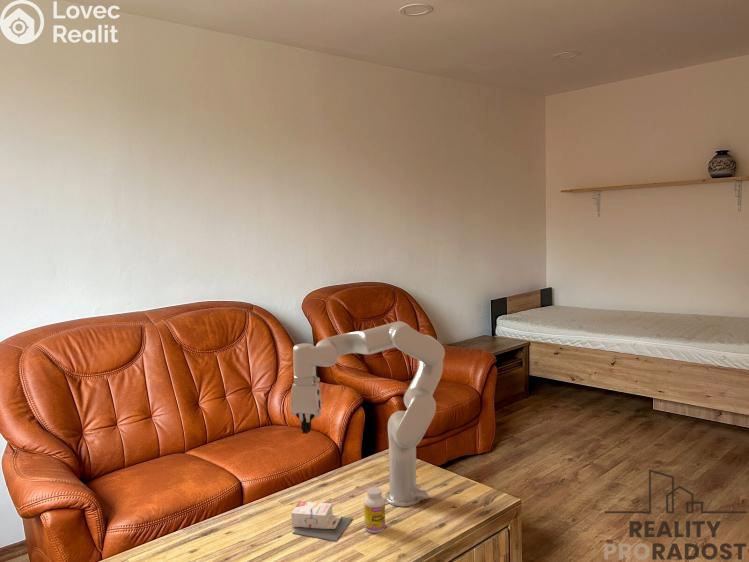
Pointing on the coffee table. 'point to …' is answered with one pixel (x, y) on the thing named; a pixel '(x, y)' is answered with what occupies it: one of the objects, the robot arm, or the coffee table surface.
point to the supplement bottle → (374, 510)
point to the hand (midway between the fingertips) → (306, 432)
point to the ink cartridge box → (314, 515)
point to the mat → (325, 530)
